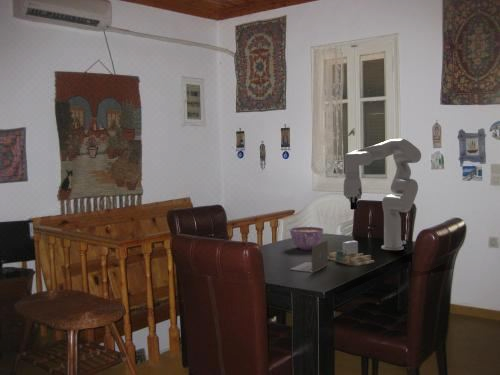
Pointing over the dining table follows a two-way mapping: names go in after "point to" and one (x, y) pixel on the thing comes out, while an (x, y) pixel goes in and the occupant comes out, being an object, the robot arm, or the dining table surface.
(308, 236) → the bowl of food
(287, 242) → the dining table surface
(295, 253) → the dining table surface
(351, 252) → the grey rectangular block
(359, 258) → the bay rack
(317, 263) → the laptop
